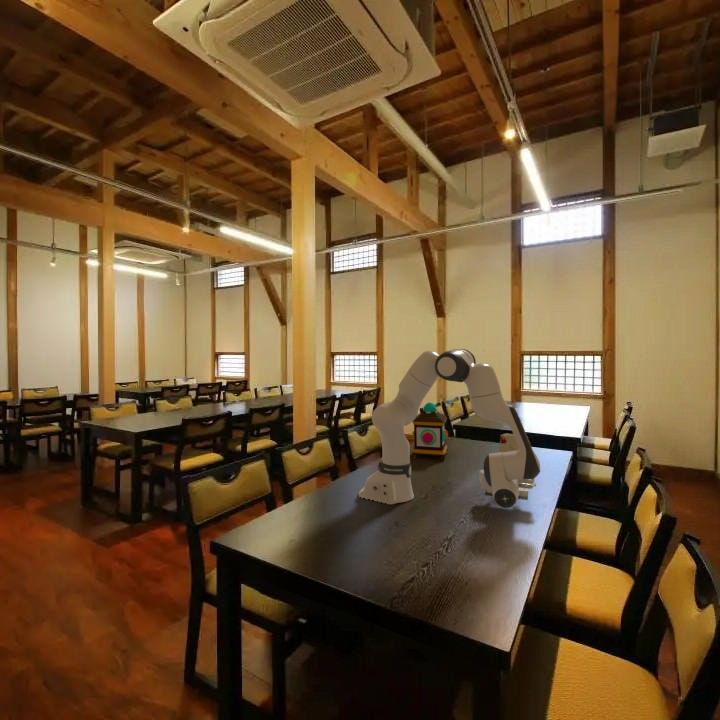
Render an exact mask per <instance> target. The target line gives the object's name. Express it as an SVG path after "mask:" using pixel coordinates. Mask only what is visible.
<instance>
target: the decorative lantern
mask: <svg viewBox="0 0 720 720" xmlns="http://www.w3.org/2000/svg"><path fill="white" fill-rule="evenodd" d="M447 419H448V417H447V416H446V415H445V414H444V413H440V412H439V411H438V410H437V406H436V405H435V404H434V403H433V402H431V401H429V402H427V403H425V405H424V406H423V411H422V412H421V413H418V414H417V417H416V418H415V420H414V421H412V422H411V423H412V424H413V431H412V432H411V434H412V437H413V438H414V439H413V440H414V447H413V450H412V452H411V458H412V459H414V460H415V458H416V455H421V456H437V457H441V461H442V460H443V461H442V462H444V461H445V457H446V454H448V452H449V449H448V445H447V444H446V443H447V442H446V439H447V438H448V437H449V432H448V430H447V429H446V422H447Z"/></svg>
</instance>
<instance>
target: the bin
mask: <svg viewBox="0 0 720 720" xmlns="http://www.w3.org/2000/svg"><path fill="white" fill-rule="evenodd" d="M485 491H486V494H492V492H491V491H487V490H485ZM519 496H520V498H529V489H526V488H519Z"/></svg>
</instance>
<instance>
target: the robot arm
mask: <svg viewBox="0 0 720 720" xmlns="http://www.w3.org/2000/svg"><path fill="white" fill-rule="evenodd" d="M476 361H477V360H476V357H475V355H474V354H473V353H472V352H471V351H469V350H468V349H465V348H454V349H450V350H447V351H443V352H442V353H440V354H439V353H438V352H436V351H433V350H426V351H423V352H422V353H421V354H420V355H419V356H418V357H417V358H416V360H415V361H414V362H413V363H412V364H411V366H410V367H409V369H408V370H407V372H406V373H405V375H404V376H403V378H402V379H401V381H400V383H399V384H398V392H397V394H396V396H395V398H394V399H393V400H392V401H388V402H385V403H384V402H383V403H381V404H380V405H378V406H377V407H376V408H375V409H373V411H372V415H371V422H372V425H373V426H374V427H375V428H376V429H377V431H378V433H379V435H380V440H381V446H382V449H381V450H382V452H381V453H382V458H381V459H380V460H379V462H378V463H377V464H376V466H377V467H376V468H377V469H378V470H376V471H374V472H373V473H372V474H371V475H369V476H368V477H367V478H366V479H365V482H364V485H363V488H361V489H360V490H359V492H358V498H360V497H361V498H360V499H363V498H365V500H368V499H370V500H369V501H372V500H374V501H373V502H377V501H378V502H377V503H381V502H382V504H385V503H386V504H385V505H395V504H398V503H399V504H400V503H405V502H409V501H411V500H413V499H414V498H415V495H414V492H413V485H412V480H411V478H412V477H411V476H412V463H411V461H410V460H411V458H410V455H411V454H410V452H411V451H410V450H411V449H410V447H411V446H410V442H409V440H408V439H407V437H406V434H405V430H404V429H405V428H404V427H405V426H409V425H410V424H411V423H413V422H412V421H414V420H415V418H416V417H417V415H418V414H419V413H418V411H419V409H420V407H421V404H422V402H423V401H424V399H425V398H426V396H427V394H428V393H429V392H430V390H431V389H432V387H433V386H434V384H435V383H436V381H437V380H438V379H439V378H441V379H442V380H445V381H449V382H454V383H455V382H456V383H464V384H465V386H466V388H467V391H468V397H469V401H470V405H471V407H472V411H473V412H474V413H475V414H476V415H477V416H479V417H480V418H483V419H485V420H487V421H493V422H497V423H501V424H504V425H506V426H508V427H509V428H510V430H511V431H512V434H514V436H515V439H516V441H517V444H518V446H519V450H517V451H510V452H499V451H498V452H492V453H488V454H487V455H486V456H485V459H484V461H483V469H479V483H480V485H481V488H482V490H483V491H486V490H487V491H491V492H492V493H491V494H492V498H493V501H494V502H495V504H496V505H497V506H498V507H500V508H503V509H509V508H512V507H514V506H515V505H516V504H517V503H518V500H519V488H526V489H528V490H530V489H533V488H534V487H536V486H537V483H536V482H535V479H536V478H537V477H538V476H539V474H540V473H541V463H540V460H539V458H538V456H537V454H536V453H535V451H534V449H533V447H532V444H531V442H530V440H529V437H528V435H527V433H526V431H525V428H524V426H523V423H522V420H521V418H520V416H519V414H518V412H517V410H516V408H515V407H514V406H513V404H509V403H507V402H506V400H505V399H504V397H503V394H502V391H501V386H500V382H499V380H498V377H497V374H496V372H495V369H494V368H493V366H491V364H488V363H482V362H481V363H477V362H476Z"/></svg>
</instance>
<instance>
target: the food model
mask: <svg viewBox="0 0 720 720" xmlns="http://www.w3.org/2000/svg"><path fill="white" fill-rule="evenodd" d="M517 450H519V446H518V444H517V441H516V439H515V436H514V434H513V433H508V432H507V433H503V434H500V436H499V451H498V453H499V452H510V451H517Z"/></svg>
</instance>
